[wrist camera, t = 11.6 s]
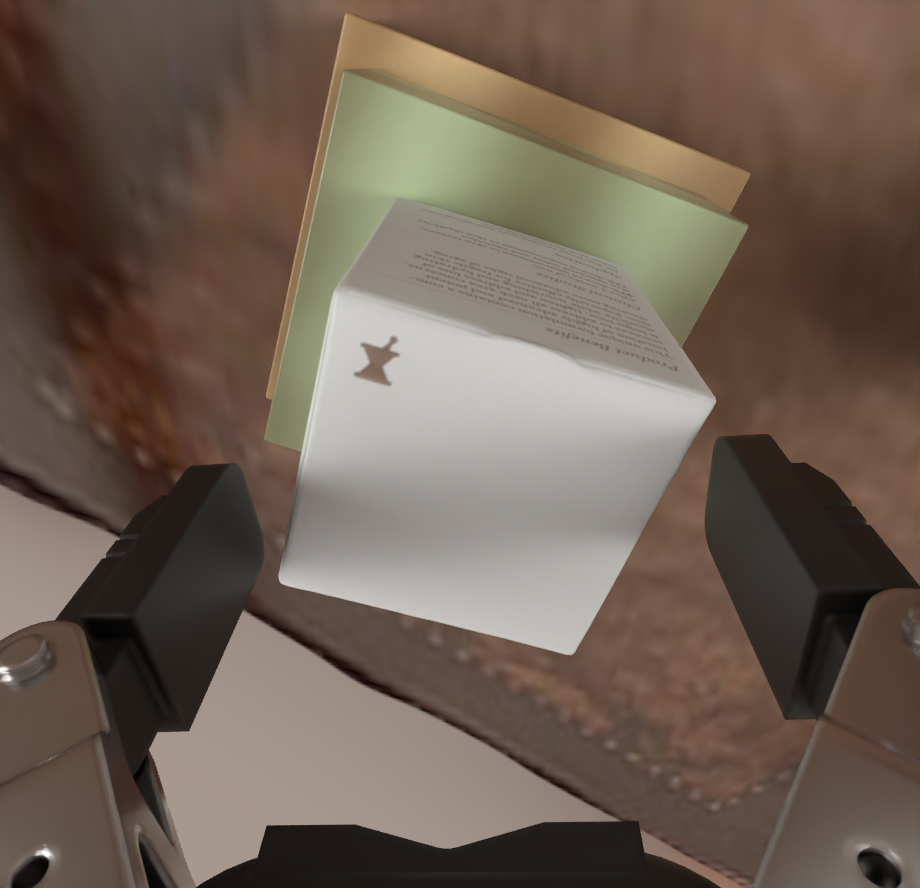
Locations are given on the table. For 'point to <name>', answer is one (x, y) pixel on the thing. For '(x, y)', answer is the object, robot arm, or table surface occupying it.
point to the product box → (486, 430)
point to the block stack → (491, 188)
